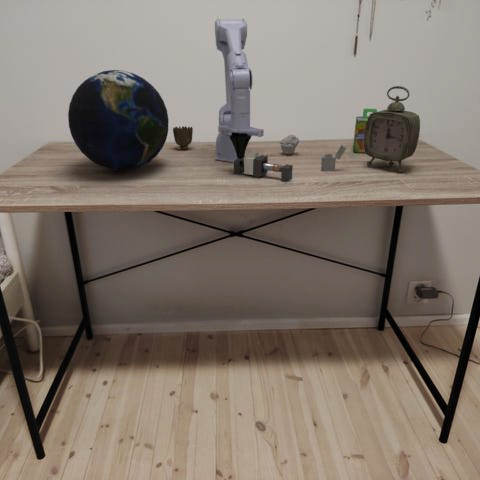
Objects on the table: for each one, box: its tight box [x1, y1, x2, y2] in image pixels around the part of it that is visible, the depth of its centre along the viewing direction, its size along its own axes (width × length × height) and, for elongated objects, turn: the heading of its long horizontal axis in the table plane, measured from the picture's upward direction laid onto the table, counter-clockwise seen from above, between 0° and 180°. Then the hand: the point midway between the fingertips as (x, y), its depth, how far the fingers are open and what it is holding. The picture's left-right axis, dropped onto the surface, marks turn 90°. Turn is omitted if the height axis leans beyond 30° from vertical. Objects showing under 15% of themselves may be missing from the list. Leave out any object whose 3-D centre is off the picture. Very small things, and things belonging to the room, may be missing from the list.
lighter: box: [320, 144, 347, 172], centre depth 138 cm, size 7×2×8 cm, turn 89°
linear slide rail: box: [233, 158, 294, 183], centre depth 133 cm, size 18×4×4 cm, turn 62°
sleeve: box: [243, 150, 260, 176], centre depth 134 cm, size 3×5×6 cm, turn 151°
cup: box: [172, 125, 194, 151], centre depth 164 cm, size 8×7×8 cm
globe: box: [67, 69, 169, 172], centre depth 136 cm, size 30×30×30 cm
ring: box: [253, 154, 269, 178], centre depth 133 cm, size 2×5×5 cm, turn 152°
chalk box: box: [352, 108, 378, 154], centre depth 159 cm, size 9×9×15 cm
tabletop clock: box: [364, 85, 421, 173], centre depth 136 cm, size 14×9×25 cm, turn 47°
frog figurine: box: [279, 134, 300, 155], centre depth 156 cm, size 6×7×7 cm
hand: (240, 157), depth 135 cm, fingers closed
